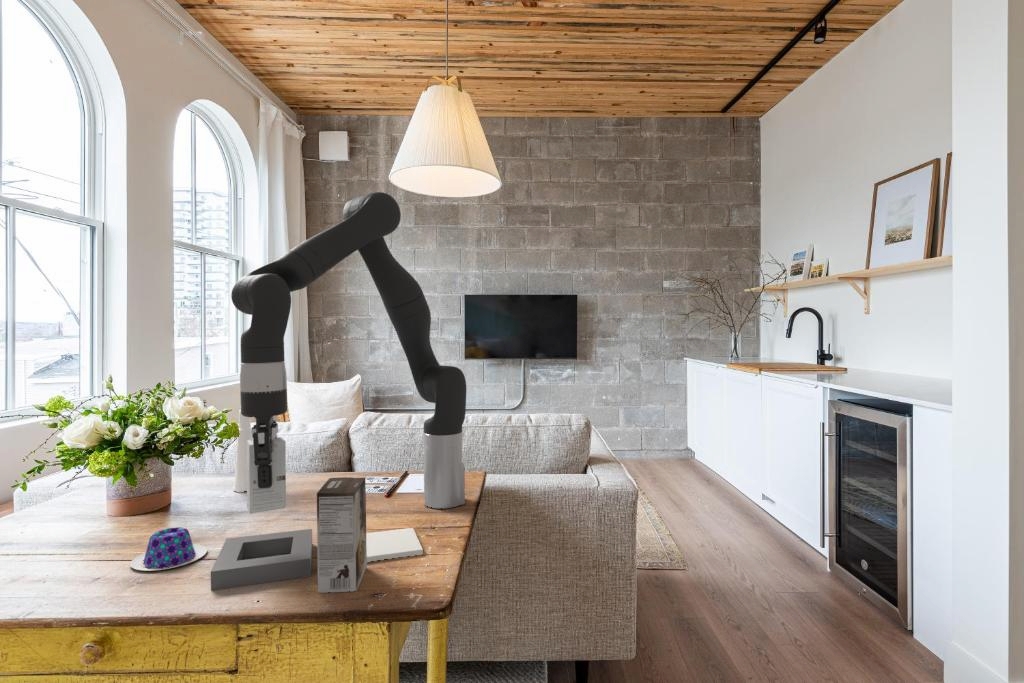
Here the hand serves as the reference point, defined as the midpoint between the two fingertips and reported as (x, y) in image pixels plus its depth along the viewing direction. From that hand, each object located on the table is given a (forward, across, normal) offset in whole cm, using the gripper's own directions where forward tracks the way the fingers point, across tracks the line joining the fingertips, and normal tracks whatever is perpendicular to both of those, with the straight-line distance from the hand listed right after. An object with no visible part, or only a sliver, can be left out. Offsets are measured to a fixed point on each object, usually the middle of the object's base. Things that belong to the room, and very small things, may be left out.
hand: (266, 482), depth 97 cm
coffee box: (+15, -11, -12) cm, 22 cm away
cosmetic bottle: (+15, +54, +10) cm, 57 cm away
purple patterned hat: (+15, +9, +18) cm, 25 cm away
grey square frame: (+15, 0, 0) cm, 15 cm away
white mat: (+15, +1, -21) cm, 25 cm away
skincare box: (+5, 0, 0) cm, 5 cm away
